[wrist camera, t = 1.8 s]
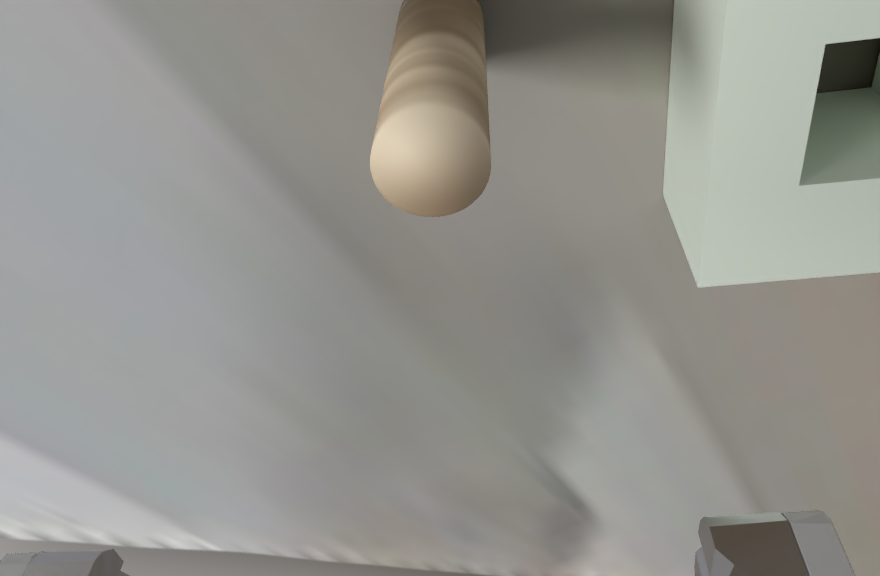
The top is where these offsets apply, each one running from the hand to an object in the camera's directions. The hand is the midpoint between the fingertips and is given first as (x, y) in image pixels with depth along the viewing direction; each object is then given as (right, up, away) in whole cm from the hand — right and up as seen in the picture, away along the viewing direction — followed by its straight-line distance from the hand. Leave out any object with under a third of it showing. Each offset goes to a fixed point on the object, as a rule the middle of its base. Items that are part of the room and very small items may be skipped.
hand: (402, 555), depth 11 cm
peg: (+1, +13, +16) cm, 21 cm away
